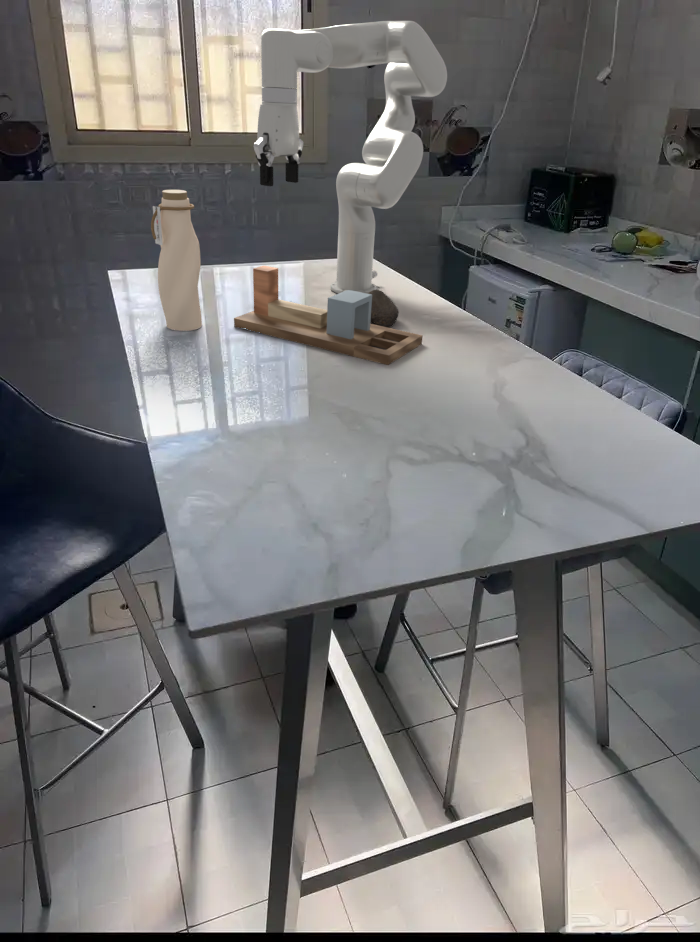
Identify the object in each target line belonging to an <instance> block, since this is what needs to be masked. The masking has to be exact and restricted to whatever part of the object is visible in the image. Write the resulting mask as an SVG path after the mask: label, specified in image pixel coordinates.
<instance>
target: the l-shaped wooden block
mask: <svg viewBox="0 0 700 942" xmlns="http://www.w3.org/2000/svg"><path fill="white" fill-rule="evenodd" d="M252 279H253V281H252V283H253V286H252V287H253V311H254V313H257V314H261V315H265V316H270V317H274V318H278V319H282V320H287V321H291V322H295V323H299V324H304V325H308V326H312V327H317V328H322V327H324V326H327V309H324V308H320V307H315V306H310V305H306V304H303V303H302V304H301V303H297V302H292V301H288V300H283V299H280V298H279V267H274V266H269V265H268V266H267V265H261V266H258V267H253V268H252Z"/></svg>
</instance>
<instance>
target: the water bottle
mask: <svg viewBox="0 0 700 942" xmlns="http://www.w3.org/2000/svg"><path fill="white" fill-rule="evenodd" d="M161 192H162V197H161V203H160V204H158V205H157V206H156V205H155V206H154V205H153V206H152V217H151V222H150V230H151V234H152V238H153V240H154V241H155V242H154V243H155V244H156V245H159V246H160V253H159V257H158V264H157V265H158V267H157V285H158V293H159V294H158V295H159V299H160V303H161V307H162V310H163V314H164V318H165V323H166V324H165V325H166V327H167V328H168V329H169V330H172V331H177V332H178V331H179V332H185V331H187V332H188V331H189V332H190V331H196V330H197V329H200V328H201V327H202V326H203V319H202V311H201V310H202V309H201V305H200V296H199V295H200V294H199V280H200V274H201V264H202V263H201V249H200V241H199V239H198V237H197V234H196V231H195V228H194V226H193V223H192V218H191V217H192V216H191V210H193V209H195V205H194V204H193V203H190V198H189V197H188V192H187V191H186V190H183V189H164V190H162V191H161Z"/></svg>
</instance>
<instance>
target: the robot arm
mask: <svg viewBox="0 0 700 942" xmlns="http://www.w3.org/2000/svg"><path fill="white" fill-rule="evenodd" d="M260 39H261V40H260V41H261V42H260V47H261V48H260V49H261V51H260V52H261V53H260V54H261V59H260V60H261V63H260V64H261V65H260V66H261V104H260V106H259V112H258V121H257V135H256V137H257V138H256V139H257V140H256V141H255V142H254V143H253V149H254V152H255V153H254V154H255V158H256V159H257V164H258V166H259V184H260V186H263V187H273V186H274V166H272V164H273V162H274V160H275V158H276V157H285V159H286V161H287V162H285V181H286V182H288V183H295V184H297V183H298V182H299V164H300V163H301V157H302V154H303V148H304V144H305V143H304V141H303V140H302V139H301V138H300V125H299V123H300V122H299V112H298V72H300V73H301V72H302V73H312V74H313V73H315V74H316V73H320V72H322V71H325V70H326V69H327V68H333V69H356V68H361V67H369V66H375V65H382V64H387V65H386V68H385V70H384V76H383V77H384V78H383V79H384V90H385V91H384V92H385V107H384V110H383V112H382V114H381V116H380V117H379V119H378V120H377V122H376V124H375V126H374V127H373V129H372V130H371V132H370V133H369V135H368V136H367V138H366V139H365V141H364V144H363V147H362V151H361V157H362V160H363V161H364V163H362V162H351V163H347V164H345V165H344V166H342V167H341V169H340V170H339V171H338V173H337V176H336V180H335V181H336V182H335V185H336V186H335V187H336V195H337V202H338V231H337V232H338V233H337V234H338V236H337V257H336V259H337V260H336V280H335V281H334V282H331V283H330V286H329V287H330V290H331V291H332V292H333V293H336V294H339V293H341V292H344V291H346V290H352V291H357V292H361V293H366V294H367V293H369V292H370V291H373V290H378V287H377V285H375V284H374V283H373V282H372V280H373V279H375V278H377V277H378V272H377V271H376V270H373V266H374V265H373V264H374V249H375V247H374V246H375V233H376V218H375V214H374V210H373V208H377V209H382V210H384V209H385V210H387V209H390V208H393V207H394V206H395V205H396V204H397V203H398V201H399V200H400V199H401V197H402V196H403V195H404V192H406V190H407V189H408V186H409V184H410V183H411V181H412V180H413V179H414V177H415V175H416V174H417V171H418V170H419V168H420V167H421V163H422V160H423V156H424V144H423V141H422V139H421V138H420V136H419V135H418V134H417V133H415V132H413V129H414V126H415V122H416V115H415V110H414V107H413V101H412V97H422V98H424V97H425V98H433V97H436V96H438V95H440V94H441V93H442V92H443V91H444V90H445V88H446V85H447V82H448V71H447V66H446V63H445V61H444V59H443V57H442V55H441V54H440V52H439V51H438V49H437V47H436V46H435V45H434V42H433V41H432V39H431V38H430V36H429V35H428V33H427V32H426V30H424V29H423V27H422V26H421V25H420V24H419V23H417V22H416V21H413V20H381V21H379V20H378V21H370V22H362V23H361V22H359V23H358V22H357V23H348V24H339V25H333V26H327V27H319V28H310V29H309V28H307V29H296V30H290V29H285V28H267V29H264V30H263V31H262V33H261V37H260Z"/></svg>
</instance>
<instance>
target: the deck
mask: <svg viewBox="0 0 700 942" xmlns="http://www.w3.org/2000/svg"><path fill="white" fill-rule="evenodd" d="M233 327H234V328H238V329H241V328H246V329H248V330H247V331H249V330H251V331H250V332H253V331H255V332H254V333H257V332H260V333H259V334H261V333H262V335H266V336H269V337H270V336H271V337H272V338H273V337H274V338H277V339H282V340H286V341H289V342H294V343H299V344H302V345H306V346H310V347H315V348H318V349H322V350H326V351H330V352H334V353H337V354H342V355H346V356H350V357H354V358H357V359H358V358H359V359H363V360H367V361H370V362H375V363H378V364H383V365H386V366H389V365H391V364H392V363H394V362H395V361H397V360H399V359H400V358H402V357H403V356H405V355H406V354H408V353H410V352H411V351H413V350H414V349H416V348H418V347H420V346H421V345H422V344H423V335H422V334H418V333H413V332H410V331H405V330H400V329H395V328H392V327H389V328H387V327H383V326H378V325H377V324H375V323H370V330H368V331H365V330H361V329H357V328H354V338H353V339H347V338H343V337H339V336H334V335H330V334H327V326H324V327H322V328H317V327H312V326H308V325H304V324H299V323H295V322H291V321H287V320H282V319H278V318H274V317H270V316H265V315H261V314H257V313H254V310H253V311H250V312H247V313H244V314H241V315H239V316H236V317H234V318H233Z"/></svg>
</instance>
